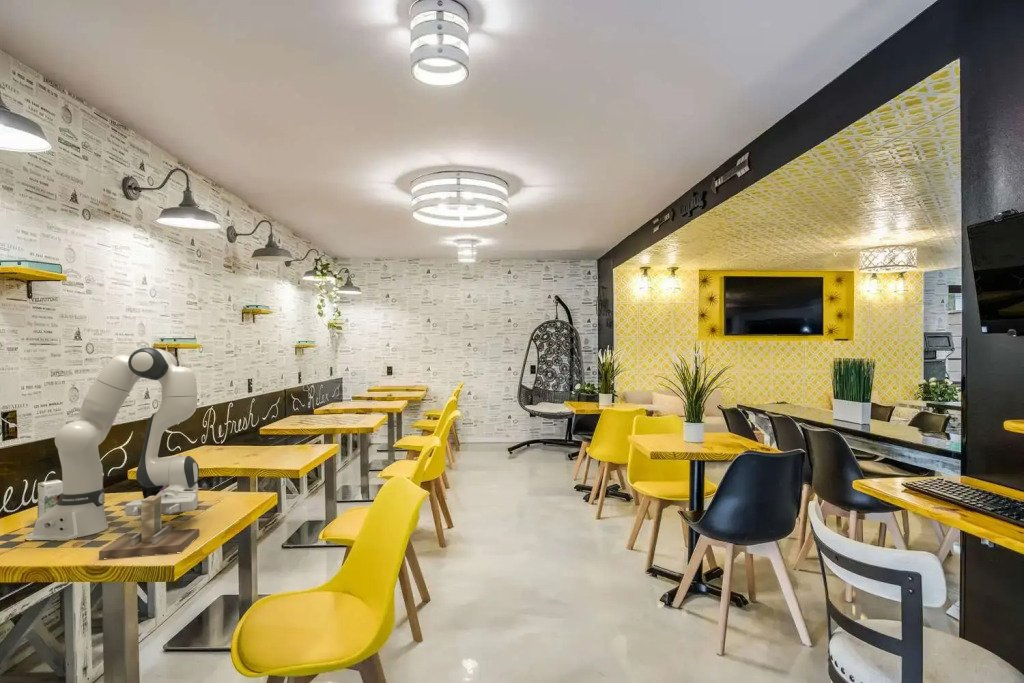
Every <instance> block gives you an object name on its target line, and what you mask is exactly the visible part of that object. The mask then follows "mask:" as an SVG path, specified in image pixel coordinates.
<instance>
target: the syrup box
mask: <svg viewBox="0 0 1024 683" xmlns="http://www.w3.org/2000/svg"><path fill="white" fill-rule="evenodd" d="M61 493H63V482H62V480H60V479H53V480H52V479H51V480H47V481H41V482H40V481H39V482H38V483H37V519H38V518H39V517H40V516H42V515H43V514H44V513H46V512H47V511H48V510H50V509H51V508H52V507H54V506H55V505H57V504H56V503H57V500H55V501H54V499H55V498H54V497H56V496H57V495H59V494H61Z"/></svg>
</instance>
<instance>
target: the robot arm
mask: <svg viewBox="0 0 1024 683" xmlns="http://www.w3.org/2000/svg"><path fill="white" fill-rule="evenodd" d="M195 375H196V374H195V372H194V371H193V369H191V368H189V367H186V366H180V361H179V359H178V357H177V356H176V355H175V354H174V353H172V352H170V351H167V350H164V349H161V348H152V347H141V348H139V349H136V350H135V351H133V352H132V353H131V354H130V356H129V355H127V354H118V355H116V356H114V357H113V358H111V359H110V360H109V362H108V363H107V364H105V365H104V367H103V369H102V370H101V371H100V373H99V374H97V377H96V379H95V380H94V382H93V383H92V385H91V386H90V388H89V389H88V391H87V392H86V394H85V396H84V398H83V400H82V401H83V402H82V403H81V407H80V410H79V411H78V413H77V415H76V417H75V419H74V420H73V421H72V422H71V421H70V422H68V423H66V424H64V425H63V426H61V428H60V429H59V430H58V431H57V433H56V434H55V437H54V444H55V447H56V449H57V451H58V452H57V453H58V457H59V461H60V466H61V473H62V475H61V477H62V479H61V481H62V482H63V493H61V494H59V495H57V496H56V497H54V498H55V499H54V501H55V500H57V503H56V504H57V505H55V506H54V507H52V508H51V509H50V510H48V511H47V512H46V513H44V514H43V515H42V516H40V517H39V518H38V517H37V519H36V520H35V523H34V528H33V531H32V532H30V533H28V534H27V535H25V537H24V540H25V539H33V540H57V541H70V539H71V540H74V538H75V539H78V538H82V537H86V536H90V535H94V534H97V533H101V532H103V531H106V530H107V529H108V528H109V527H110V526H109V524H108V521H107V517H106V512H105V506H104V504H105V498H106V495H105V488H104V475H103V474H104V467H103V463H102V462H101V457H100V452H99V451H100V450H99V446H100V445H101V444H102V443H103V442H104V441H105V440H106V438H107V436H108V434H109V433H110V430H111V429H112V426H113V424H114V422H115V420H116V417H117V416H118V413H119V411H120V409H121V408H122V407H123V404H124V403H125V402H126V400H127V398H128V396H129V395H130V394H131V391H132V389H133V387H134V386H135V385H136V383H137V382H138V381H139V380H140V379H141V378H142V379H147V380H152V381H158V383H160V385H161V386H160V387H161V401H160V405H159V408H158V410H157V411H156V412H154V413H152V414H151V416H150V419H149V421H148V424H147V428H146V433H145V438H144V442H143V447H142V452H141V456H140V460H139V463H138V465H137V469H136V474H135V478H136V481H137V482H138V483H139V484H140V486H141V485H143V486H144V487H146V488H149V487H155V486H160V485H169V487H167V488H166V489H164V490H162V491H160V492H159V493H158V494H157V495H156V496H158V495H161V515H163V516H169V515H173V514H179V513H181V512H182V513H183V512H193V511H194V510H196V509H197V508H198V504H199V502H198V501H199V496H198V492H199V484H198V482H199V477H200V468H199V464H198V462H197V461H196V460H195V459H194V458H193V457H192V456H191V455H180V456H178V457H169V456H166V457H167V458H161V457H159V456H158V455H159V451H160V445H161V441H162V436H163V434H164V432H166V430H168V429H169V428H171V427H174V426H175V425H178V424H179V423H182V422H185V421H187V420H188V419H190V418H191V417H192V416H193V415H194V413H196V411H197V407H198V387H197V379H196V376H195ZM142 500H144V498H139V499H135V500H132V501H130V502H127V503H126V504H125V505H124V513H125V515H126V516H133V517H139V516H140V515H141V501H142ZM77 537H78V538H77Z"/></svg>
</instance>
